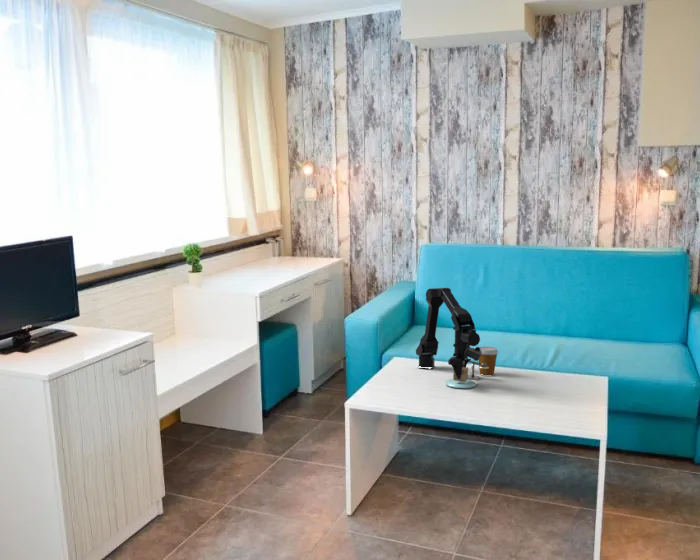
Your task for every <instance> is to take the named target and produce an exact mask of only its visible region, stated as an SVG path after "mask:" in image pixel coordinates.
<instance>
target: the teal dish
mask: <svg viewBox="0 0 700 560" xmlns="http://www.w3.org/2000/svg"><path fill="white" fill-rule="evenodd" d="M445 386H448V387H450V388H454V389H470V388H474V387H476V386H477V383H476V382H475V380H469V379H467V380H466V381H465V382H464V381H455V380H453V378H452V379H447V380H445Z"/></svg>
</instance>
